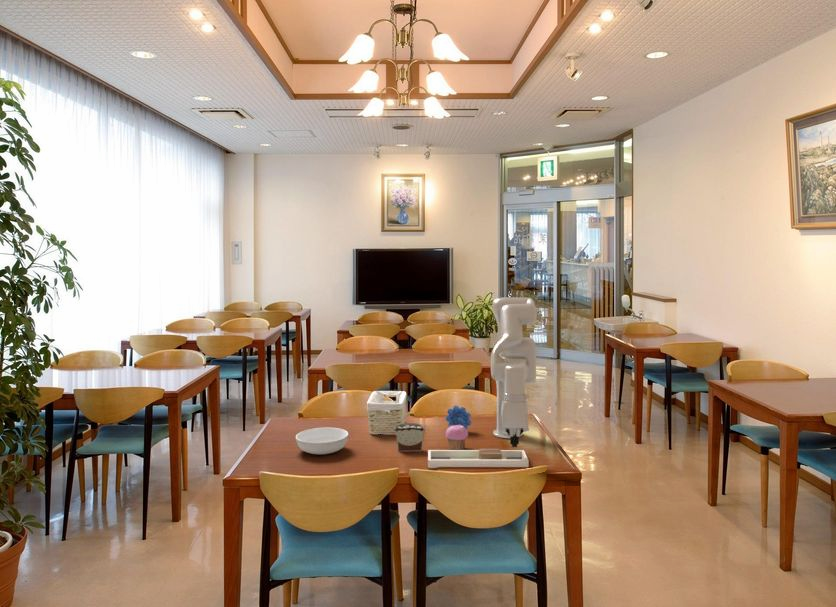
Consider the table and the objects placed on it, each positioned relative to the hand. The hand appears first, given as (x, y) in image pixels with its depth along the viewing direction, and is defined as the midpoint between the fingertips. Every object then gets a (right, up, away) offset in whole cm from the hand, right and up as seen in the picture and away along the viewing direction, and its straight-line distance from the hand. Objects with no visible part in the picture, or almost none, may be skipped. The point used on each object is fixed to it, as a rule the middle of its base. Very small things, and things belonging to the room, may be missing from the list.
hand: (514, 446), depth 241 cm
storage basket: (-50, -3, +49) cm, 70 cm away
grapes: (-18, -3, +42) cm, 45 cm away
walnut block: (-9, -6, +1) cm, 11 cm away
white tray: (-14, -7, +2) cm, 15 cm away
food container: (-40, -6, +19) cm, 44 cm away
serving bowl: (-75, -6, +17) cm, 77 cm away
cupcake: (-21, -6, +18) cm, 28 cm away
